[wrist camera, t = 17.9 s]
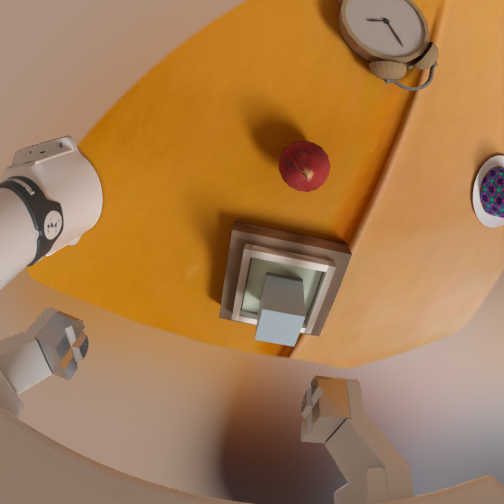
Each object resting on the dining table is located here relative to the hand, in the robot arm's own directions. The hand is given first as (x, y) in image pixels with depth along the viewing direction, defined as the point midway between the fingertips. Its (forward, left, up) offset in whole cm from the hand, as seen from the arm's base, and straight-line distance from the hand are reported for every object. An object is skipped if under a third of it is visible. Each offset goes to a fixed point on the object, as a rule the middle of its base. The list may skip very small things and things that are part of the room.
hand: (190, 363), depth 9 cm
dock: (+6, -16, -31) cm, 35 cm away
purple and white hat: (+37, +7, -32) cm, 49 cm away
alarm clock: (+12, +21, -32) cm, 40 cm away
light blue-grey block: (+6, -16, -28) cm, 33 cm away
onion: (+5, +2, -31) cm, 32 cm away
